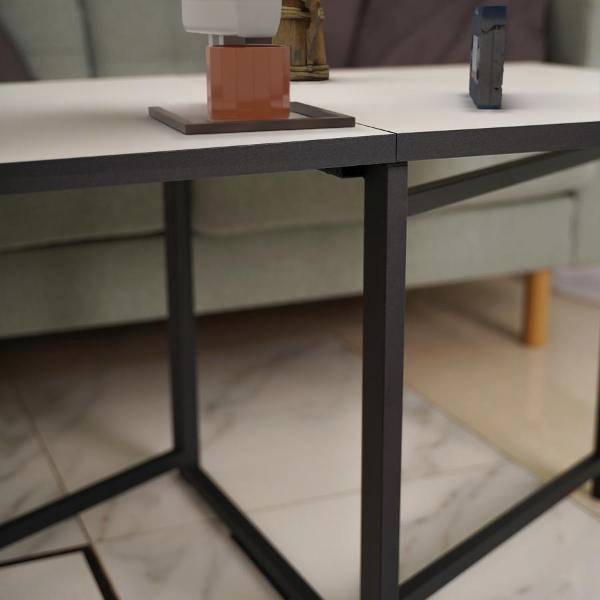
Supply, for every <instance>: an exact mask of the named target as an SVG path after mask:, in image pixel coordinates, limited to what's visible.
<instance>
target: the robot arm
mask: <svg viewBox="0 0 600 600" xmlns="http://www.w3.org/2000/svg"><path fill="white" fill-rule="evenodd" d="M281 7H282V0H181V22H182V26H183V29H184V31H185V32H186V33H192V34H202V35H208V45H227V44H246V38H249V39H251V38H252V39H254V38H255V39H260V38H272V37H274V36H275V35H276V33H277V30H278V27H279V24H280V19H281Z"/></svg>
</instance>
